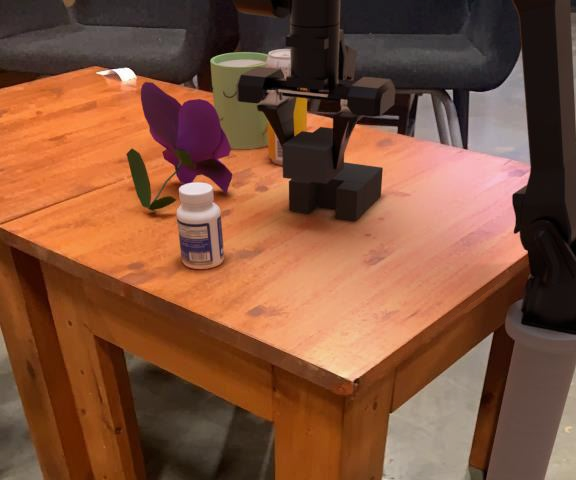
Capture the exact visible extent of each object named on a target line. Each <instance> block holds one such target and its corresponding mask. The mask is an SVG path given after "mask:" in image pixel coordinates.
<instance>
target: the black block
mask: <svg viewBox="0 0 576 480" xmlns="http://www.w3.org/2000/svg"><path fill="white" fill-rule="evenodd" d="M282 158H283V165H282V178H283V179H288V180H291V179H295V180H302V181H308V182H315V183H322V184H327V183H328V182H329V181H330V180H331V179H333V178H334V177H335V176H336V175H337V174H338V173H340V172H341V171H342V170H343V169H344V162H345V155H344V156H343V159H342V161H341V164H340V167H339V168H338V169H334V165H333V127H326V126H320V127H318V128H317V129H315V130H314V131H313V132H312V131H307V132H305V131H301V132H300V133H299V134H297V135H296V136H294V137H293V138H291V139H290V140H288V141H287V142H286V143H284V144H283V145H282Z"/></svg>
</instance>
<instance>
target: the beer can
mask: <svg viewBox="0 0 576 480" xmlns="http://www.w3.org/2000/svg"><path fill="white" fill-rule="evenodd" d="M267 55H268V58H267V60H266V68H277V69H281V70H282V72H283V74H284V78H286V77H287V76H289V75H291V59H290V48H279V49H274V50H270V51H269V52H268V54H267ZM300 90H302V88H300ZM303 90H308V89H305V88H303ZM301 131H305V132H308V98H299V97H297V99H296V104H295V109H294V135H295V136H296V135H297V134H299V133H300V132H301ZM268 158H270V159H271V161H272V163H274V164H275V165H279V166H283V158H282V147H281V145H280V143H279V140H278V138H277V136H276V134H275V132H274V130H273V128H272V127H271V125H270V123H269V121H268Z"/></svg>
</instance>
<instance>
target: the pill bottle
mask: <svg viewBox="0 0 576 480" xmlns="http://www.w3.org/2000/svg"><path fill="white" fill-rule="evenodd" d="M178 195H179V196H178V197H179V198H178V199H179V202H180V203H181V205H179V207H178V208H177V209H176V223H177V224H176V225H177V232H178V239H179V248H180V255H181V256H180V257H181V262H182V263H183V265H184V266H185V267H188V268H189V269H193V270H208V269H212V268H216V267H217V266H219V265H221V264H222V263H223V262H224V259H225V249H224V236H223V226H222V225H223V224H222V214H221V208H220V207H219V206H218V204H217V203H215V202H214V200H215V198H214V195H215V194H214V186H212V185H211V184H210V183H207V182H200V181H197V182H194V181H193V182H192V183H188V184H185V183H184V184H182V185H180V186H179V187H178Z"/></svg>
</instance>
